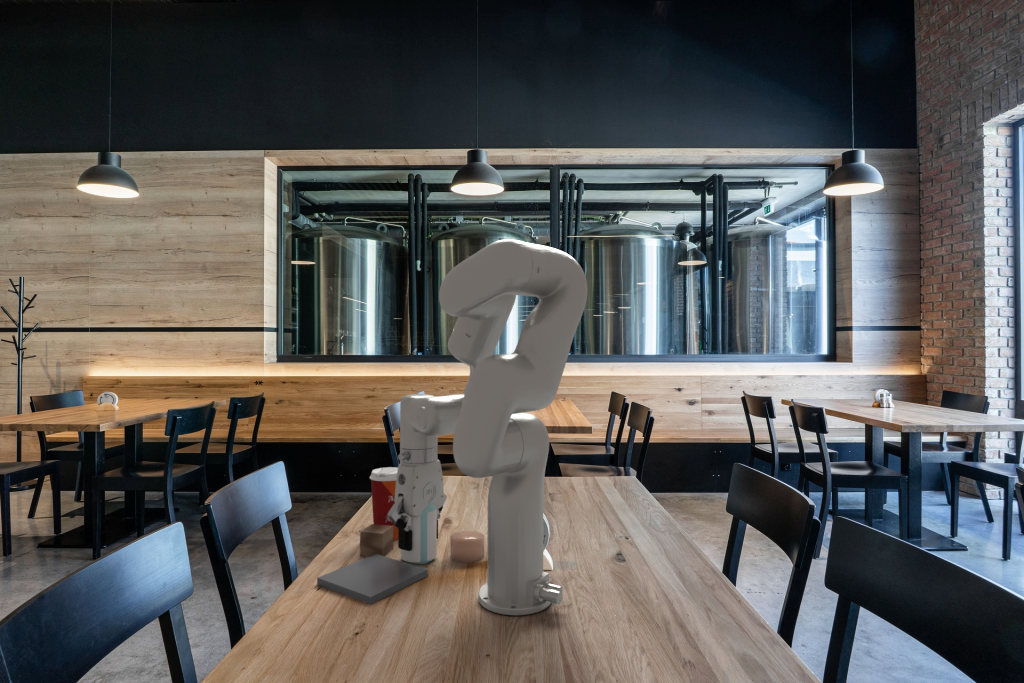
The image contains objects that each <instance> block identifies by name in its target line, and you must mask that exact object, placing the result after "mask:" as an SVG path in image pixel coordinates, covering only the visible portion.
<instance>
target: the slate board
mask: <svg viewBox="0 0 1024 683" xmlns="http://www.w3.org/2000/svg"><path fill="white" fill-rule="evenodd" d="M428 576H429V569H428V568H426V567H422V566H419V565H417V564H409V563H407V562H406V561H402V560H398V559H395V558H391V557H388V556H386V555H385V556H382V555H378V554H374V555H372V556H366V557H365V558H362V559H359V560H358V561H355V562H352V563H350V564H348V565H346V566H342V567H340V568H338V569H335V570H333V571H330V572H328V573H326V574H323V575H320V576H318V577H316V582H317V583H316V585H318V586H321V587H323V588H325V589H328V590H331V591H334V592H336V593H340V594H342V595H345V596H347V597H350V598H353V599H355V600H359V601H360V602H361V601H362V602H364V603H367V604H369V605H373V604H374V603H377V602H378V601H381V600H382V599H384V598H386V597H388V596H390V595H392V594H395V593H396V592H398V591H400V590H402V589H404V588H406V587H408V586H410V585H412V584H414V583H416V582H418V581H420V580H423V579H424V578H426V577H428Z"/></svg>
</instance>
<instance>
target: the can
mask: <svg viewBox="0 0 1024 683" xmlns="http://www.w3.org/2000/svg"><path fill="white" fill-rule="evenodd" d="M404 513H406V511H405V509H404ZM406 519H407V517H405V516H404V522H405V523H406ZM437 520H438V519H437V508H436V507H435V506H434V505H431V502H428V506H427V507H426V508H425V509H424V511H423V512H422V515H420V516H418V517H413V520H412V523H411V527H410V530H412V550H411V551H406V550H403V549H400V554H401V556H400V557H401V560H403V562H405V563H409V564H412V565H424V564H427V563H430V562H432V561H433V560H434V559H435V558H436V556H437V542H438V541H437V540H438V539H437Z"/></svg>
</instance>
